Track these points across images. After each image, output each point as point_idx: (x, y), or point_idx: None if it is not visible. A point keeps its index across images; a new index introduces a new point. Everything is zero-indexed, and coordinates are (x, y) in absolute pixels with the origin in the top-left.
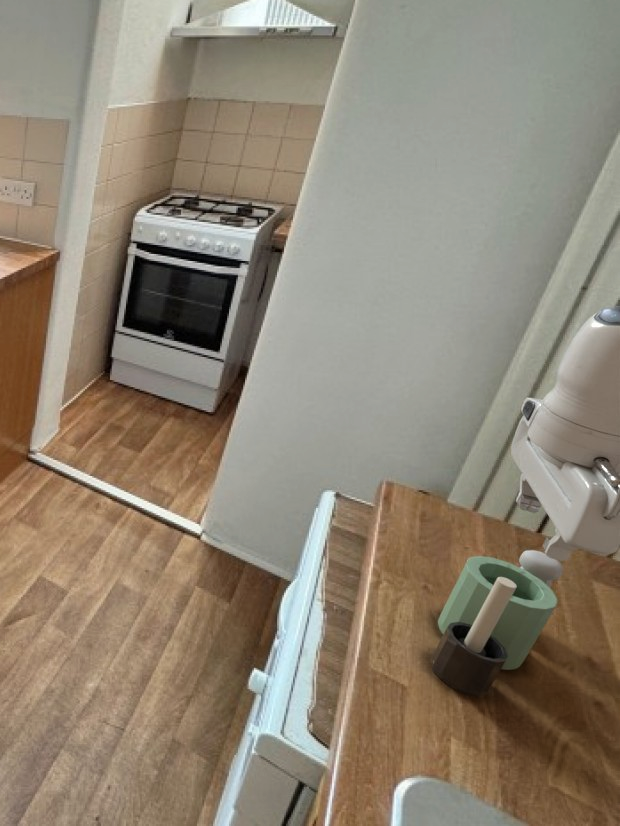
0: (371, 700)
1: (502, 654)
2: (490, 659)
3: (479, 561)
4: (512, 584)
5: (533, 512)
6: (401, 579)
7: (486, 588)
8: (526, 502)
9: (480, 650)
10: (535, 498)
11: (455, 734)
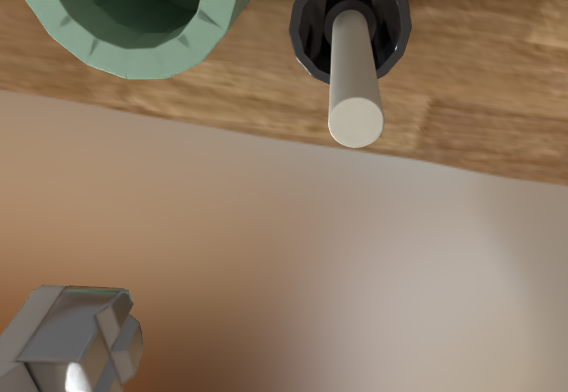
0: (497, 156)
1: None
2: (403, 11)
3: (81, 39)
4: (358, 107)
5: (126, 291)
6: None
7: (215, 44)
8: (118, 390)
9: (364, 18)
10: (47, 385)
11: (518, 32)
